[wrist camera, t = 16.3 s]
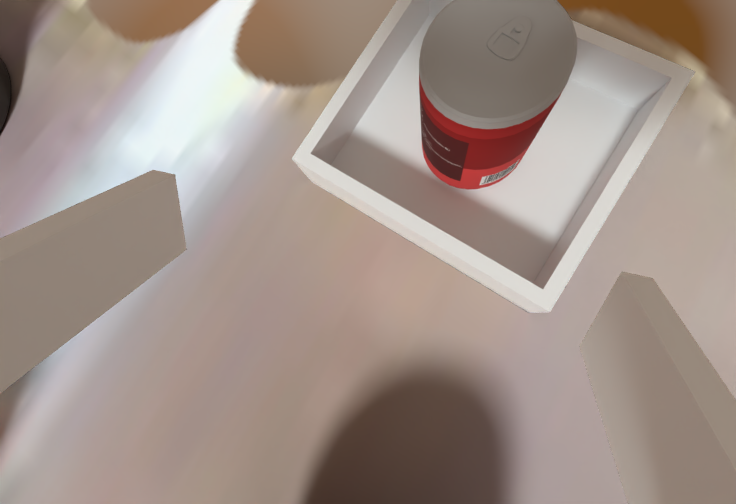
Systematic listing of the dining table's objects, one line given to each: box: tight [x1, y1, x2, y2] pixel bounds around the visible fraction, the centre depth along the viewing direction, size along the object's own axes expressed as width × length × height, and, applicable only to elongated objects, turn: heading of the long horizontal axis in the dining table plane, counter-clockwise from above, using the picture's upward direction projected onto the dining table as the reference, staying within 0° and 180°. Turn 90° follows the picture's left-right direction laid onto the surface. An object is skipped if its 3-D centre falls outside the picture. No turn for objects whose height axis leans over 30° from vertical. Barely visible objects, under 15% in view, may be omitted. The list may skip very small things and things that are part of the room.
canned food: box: [419, 0, 577, 190], centre depth 25 cm, size 8×8×11 cm
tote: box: [292, 0, 695, 313], centre depth 29 cm, size 20×18×5 cm
